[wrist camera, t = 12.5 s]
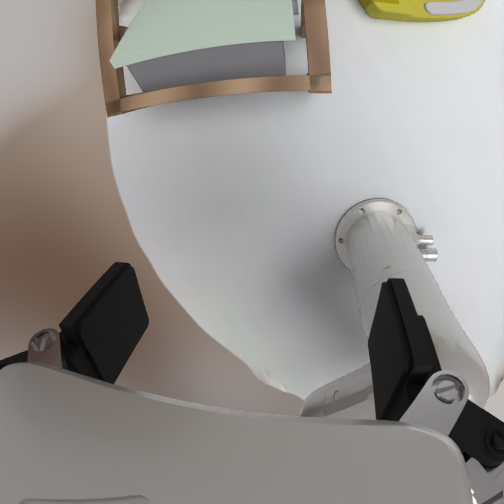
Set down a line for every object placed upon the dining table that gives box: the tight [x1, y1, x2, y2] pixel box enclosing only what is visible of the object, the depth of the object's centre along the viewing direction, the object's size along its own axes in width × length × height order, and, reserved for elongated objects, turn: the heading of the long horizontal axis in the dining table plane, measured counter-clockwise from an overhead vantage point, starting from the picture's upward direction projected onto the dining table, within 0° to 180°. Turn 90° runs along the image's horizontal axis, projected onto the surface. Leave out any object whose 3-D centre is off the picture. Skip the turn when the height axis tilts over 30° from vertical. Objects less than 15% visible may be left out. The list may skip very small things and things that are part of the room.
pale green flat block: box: [109, 0, 298, 93], centre depth 22 cm, size 15×16×5 cm
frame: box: [96, 0, 332, 117], centre depth 24 cm, size 19×21×17 cm
